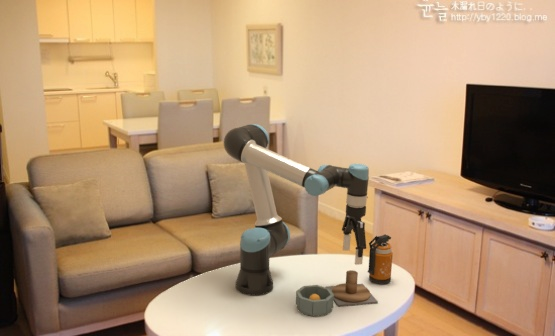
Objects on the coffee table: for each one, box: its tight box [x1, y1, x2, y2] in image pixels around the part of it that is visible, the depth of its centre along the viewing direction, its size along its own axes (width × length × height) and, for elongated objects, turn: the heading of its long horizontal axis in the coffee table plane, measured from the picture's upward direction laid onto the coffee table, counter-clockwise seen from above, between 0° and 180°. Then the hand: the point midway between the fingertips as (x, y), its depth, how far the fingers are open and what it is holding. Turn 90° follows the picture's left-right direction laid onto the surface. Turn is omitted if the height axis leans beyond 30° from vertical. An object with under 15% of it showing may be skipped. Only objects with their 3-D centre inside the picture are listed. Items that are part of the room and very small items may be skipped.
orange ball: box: [309, 294, 321, 300], centre depth 210 cm, size 4×4×4 cm
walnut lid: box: [332, 270, 371, 303], centre depth 220 cm, size 15×15×9 cm
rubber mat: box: [325, 283, 379, 308], centre depth 221 cm, size 16×16×1 cm
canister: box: [367, 234, 394, 285], centre depth 233 cm, size 9×11×20 cm
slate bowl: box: [295, 284, 335, 317], centre depth 211 cm, size 13×13×6 cm
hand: (352, 257), depth 218 cm, fingers open, 13 cm apart
